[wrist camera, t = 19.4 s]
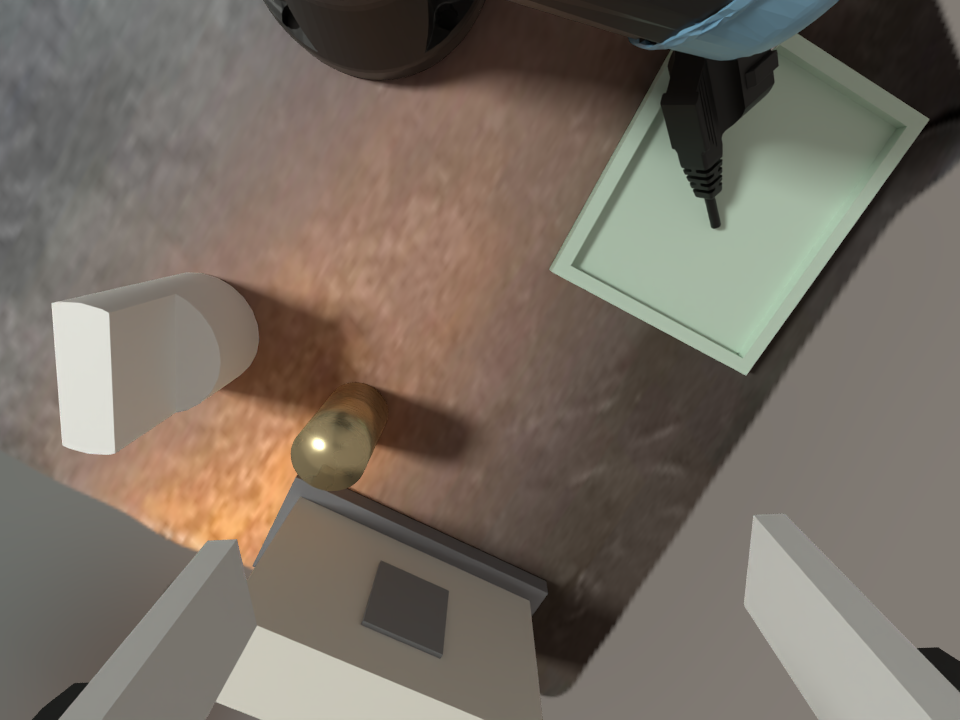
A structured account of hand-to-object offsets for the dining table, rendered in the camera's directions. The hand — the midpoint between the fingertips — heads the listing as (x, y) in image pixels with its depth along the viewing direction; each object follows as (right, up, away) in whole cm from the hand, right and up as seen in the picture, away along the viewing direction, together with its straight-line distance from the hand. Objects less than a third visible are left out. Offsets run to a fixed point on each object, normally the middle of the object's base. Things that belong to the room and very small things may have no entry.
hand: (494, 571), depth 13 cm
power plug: (+18, +17, +23) cm, 34 cm away
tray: (+17, +17, +23) cm, 33 cm away
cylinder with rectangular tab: (-22, +8, +27) cm, 35 cm away
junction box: (-7, -13, +33) cm, 36 cm away
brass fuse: (-10, +1, +28) cm, 30 cm away
